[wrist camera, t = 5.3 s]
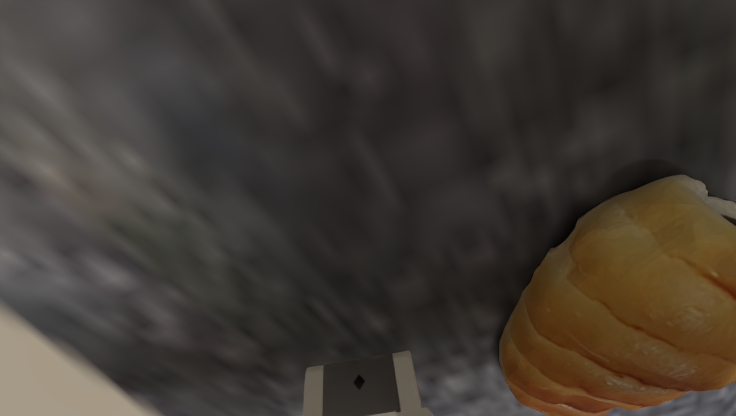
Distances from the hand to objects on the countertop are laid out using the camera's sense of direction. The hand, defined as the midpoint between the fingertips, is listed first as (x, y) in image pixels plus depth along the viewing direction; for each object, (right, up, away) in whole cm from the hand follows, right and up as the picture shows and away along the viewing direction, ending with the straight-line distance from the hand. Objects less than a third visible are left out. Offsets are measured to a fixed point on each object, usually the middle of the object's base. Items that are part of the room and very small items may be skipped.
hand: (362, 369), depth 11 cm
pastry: (+8, +2, +2) cm, 9 cm away
